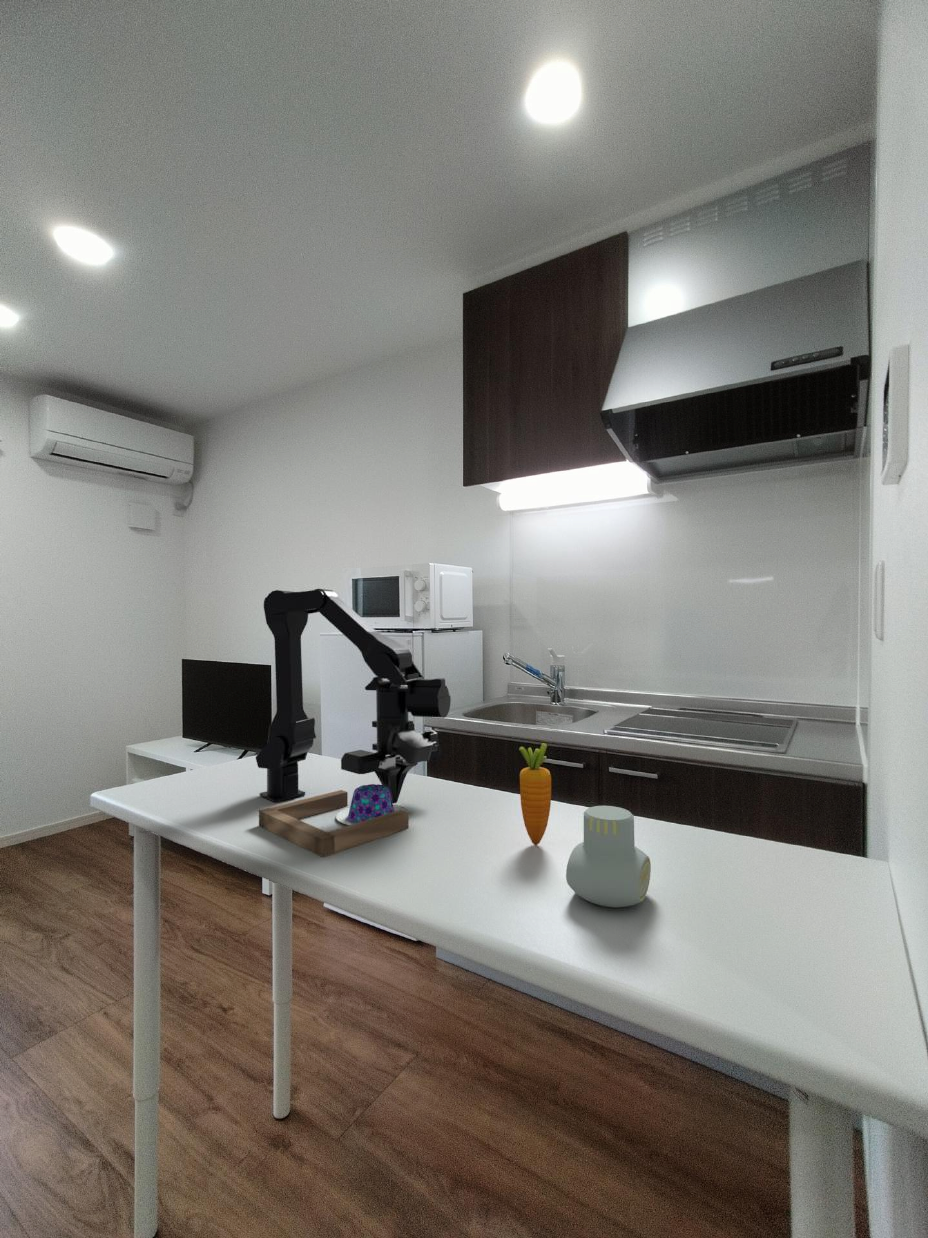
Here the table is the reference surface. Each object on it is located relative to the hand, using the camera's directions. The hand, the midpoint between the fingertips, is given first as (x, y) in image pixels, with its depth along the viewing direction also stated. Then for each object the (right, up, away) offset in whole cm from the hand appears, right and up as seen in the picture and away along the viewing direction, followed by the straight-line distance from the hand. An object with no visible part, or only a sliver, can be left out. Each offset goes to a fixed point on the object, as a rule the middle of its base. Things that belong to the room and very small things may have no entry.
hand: (393, 802), depth 101 cm
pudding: (-3, -2, -4) cm, 5 cm away
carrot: (+23, -1, -18) cm, 29 cm away
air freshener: (+30, -1, -34) cm, 45 cm away
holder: (-8, -1, -8) cm, 12 cm away
